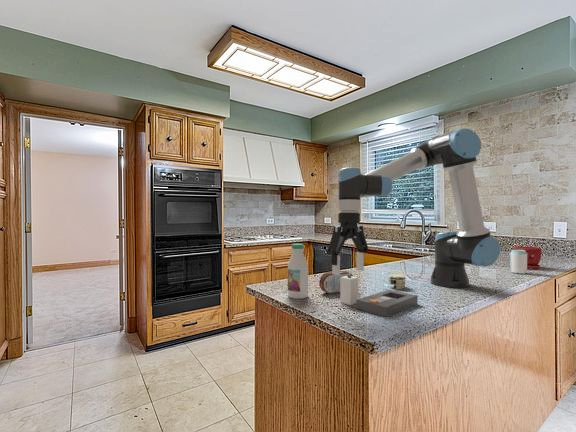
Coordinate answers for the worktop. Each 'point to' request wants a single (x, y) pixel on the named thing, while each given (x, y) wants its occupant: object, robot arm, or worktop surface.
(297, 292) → the milk bottle
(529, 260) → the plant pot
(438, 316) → the worktop surface
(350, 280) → the block
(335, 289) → the tin
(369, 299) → the power strip
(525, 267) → the can
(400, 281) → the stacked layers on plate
